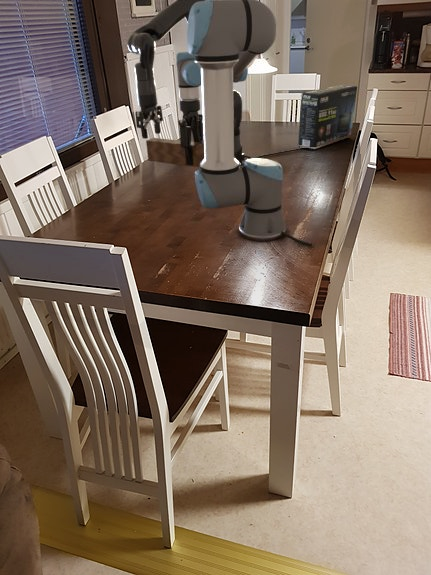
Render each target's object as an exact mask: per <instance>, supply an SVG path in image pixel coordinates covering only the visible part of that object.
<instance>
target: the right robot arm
mask: <svg viewBox="0 0 431 575" xmlns="http://www.w3.org/2000/svg"><path fill="white" fill-rule="evenodd" d="M277 35H278V24H277V19H276V17H275V14H274V12H273V11H272V10H271V9H270V7H268V6H267V5H266V4H265V3H264V2H262V1H259V0H206V1H200V2H196V3H195V4H194V5H193V6H192V8H191V10H190V14H189V18H188V23H187V28H186V42H187V43H186V44H187V51H182V52H181V51H179V52H177V54H176V63H175V65H176V71H177V72H176V73H177V83H178V99H180V100H179V110H180V112H182V119H178V121H177V123H178V127H179V140H180V142H181V147H182V148H185V156H186V165H193V157H192V148H190V147H191V142H192V138H193V142H199V143H204V154H205V158H204V159H203V160H202V161H201V163H200V167H199V169H197V170H195V171H194V181H195V187H196V191H197V195H198V198H199V201H200V204H201V205H202V206H203V208H205V209H207V210H208V209H211V210H212V209H217V210H218V209H220V208H221V209H223V208H231V207H237V206H244V211H243V213H242V216H241V220H240V222H239V225H238V232H239V235H240V236H241V237H242V238H244V239H247V240H250V241H254V242H271V241H277V240H279V239H281V238H283V237H287V238H288V239H290V240H292V241H294V242H296V243H298V244H301V245H304V246H308V247H312V246H313V243H312V242H307V241H304V240H301V239H298V238H296V237H294V236H293V235H291V234H289V233H287V223H286V221H285V216H284V214H283V210H282V200H283V183H284V175H283V173H284V172H283V171H284V170H283V166H282V164H280V163H279V162H278V161H275V160H272V159H268V158H263V157H261V158H256V157H251V158H250V159H249V158H247V159H245V160H244V161H243V165H241V166H239V161H238V160H237V159H236V158H235V157H234V111H233V90H234V83H235V84H236V83H241V82H245V81H246V80H247V78H248V73H249V68H248V67H249V66H250V65H251V64H252V63H253V62H254V61H255V60H256V58H257V57H258V56H260V55H262V54H265V53H266V52H267V51H269V49H271V47H272V46H273V44H274V43H275V41H276V39H277ZM200 87H201V93H200ZM200 98H201V100H200ZM201 102H202V104H201ZM201 105H202V106H201ZM201 107H202V114H201V113H199V111H200V110H201Z"/></svg>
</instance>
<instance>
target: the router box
mask: <svg viewBox="0 0 431 575" xmlns="http://www.w3.org/2000/svg"><path fill="white" fill-rule="evenodd" d="M357 93H358V86H356V85H350V84H339V85H338V84H337V85H334V86H328V87H324V88H318V89H314V90H309V91H304V92H301V93H300V109H299V110H300V111H299V124H298V137H297V146H298V145H302V146H307V147H317V146H320V145H323V144H325V143H328V142H331V141H333V140H336V139H338V138H341V137H344V136H347V135H351V136H352V133H353V132H352V131H353V125H354V115H355V109H356V99H357ZM311 151H313V150H312V149H311Z"/></svg>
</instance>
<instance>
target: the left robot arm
mask: <svg viewBox="0 0 431 575" xmlns="http://www.w3.org/2000/svg"><path fill="white" fill-rule="evenodd" d="M200 1H207V0H174V2H172V3H171V4H170V5H167V7H165V8H163V9H162V10H161V11H159V12H158V13H156V14H155V15H154V16H153V17H152V18H151V19H150V20H148V22H147V23H146V24H144V25H142V26H140V27H139V28H137V29H135V30H134V31H132V32H131V34H130V35H129V36H128V39H127V43H126V44H127V48H128V51H129V52H130V53H131V54H134V55H136V56H137V55H138V56H139V62H136V63H135V64H134V77H135V90H136V97H137V99H136V100H137V105H138V107H140V110H139V111H135V125H136V128H138V129H140V133H141V138H142V139H145V140H148V139H149V136H148V129H147V128H148V124H149V123H150V122H151V121H152V122H153V123H154V124H153V126H154V127H153V128H154V133H155V134H157V135H159V134H161V122H163V121H164V118H163V117H164V116H163V110H162V105H158V103H159V102H158V94H157V85H156V79H155V71H154V66H155V64H154V63H155V57H156V42H158V41H161V40H162V39H163V38H164V37H165V36H166V35H167V34H168V33H169V32H171V31H172V29H173V28H174V27H175V26H177V25H178V24H179V23H180V22H182V20H184V19H185V21H186V23H187V24H188V18H189V14H190V10H191V8H192V6H193V5H194V4H195V3H196V2H200ZM233 111H234V157H235V158H236V159H237V160H238V161H239V166H243V162H245V160H246V159H245V158H247V159H250V158H252V157H251V156H250V155H245V153H243V144H242V143H241V123H242V120H243V98H242V95H241V93H240V92H239V91H237V90H235V89H233ZM299 148H300V147H299ZM295 149H296V148H295ZM289 150H290V151H286V150H283V151H284V152H281V151H277V152H278V153H276V152H272V153H273V154H270V153H267V154H268V155H265V154H262V155H263V156H261V155H258V156H257V157H255V158H264V157H270V156H274V155H280V154H286V153H290V152H291V153H292V152H296V151H301V150H302V149H301V148H300V149H296V150H292V151H291V149H289Z"/></svg>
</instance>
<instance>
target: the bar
mask: <svg viewBox="0 0 431 575" xmlns="http://www.w3.org/2000/svg"><path fill="white" fill-rule="evenodd" d="M145 143H146V144H145V145H146V152H147V161H148V162H156V163H163V164H171V165H178V166H184V167H185V166H187V167H193V168H194V167H195V168H200V163H201V161H202V160H203V159H204V158H205V152H204V142H203V143H199V142H194V141H191V147H190V148H192V157H193V165H186V156H185V148H182V147H181V142H180V139H179V140H178V139H171V138H169V139H168V138H159V137H152V138H148V139H145Z"/></svg>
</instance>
